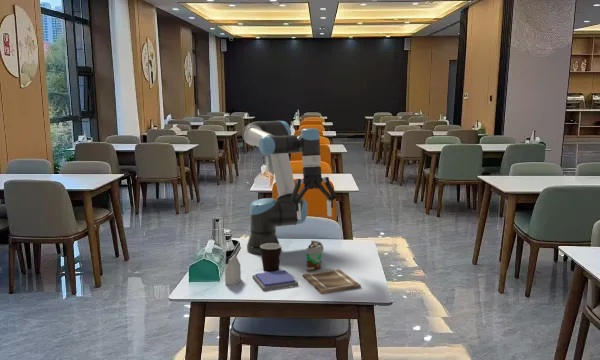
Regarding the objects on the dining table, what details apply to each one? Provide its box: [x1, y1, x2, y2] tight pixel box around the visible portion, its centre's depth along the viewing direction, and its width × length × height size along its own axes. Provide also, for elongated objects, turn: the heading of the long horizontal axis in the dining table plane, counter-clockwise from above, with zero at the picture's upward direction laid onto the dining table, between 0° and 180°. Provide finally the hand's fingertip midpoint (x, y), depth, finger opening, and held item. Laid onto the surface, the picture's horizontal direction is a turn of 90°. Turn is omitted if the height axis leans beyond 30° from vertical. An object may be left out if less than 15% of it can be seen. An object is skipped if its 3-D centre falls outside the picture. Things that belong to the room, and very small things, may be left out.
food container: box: [305, 240, 324, 272], centre depth 218 cm, size 12×6×10 cm, turn 168°
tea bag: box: [224, 254, 242, 286], centre depth 202 cm, size 4×7×10 cm, turn 166°
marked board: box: [302, 268, 362, 295], centre depth 202 cm, size 19×16×1 cm
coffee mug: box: [260, 243, 282, 273], centre depth 217 cm, size 12×9×10 cm
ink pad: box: [252, 269, 299, 292], centre depth 203 cm, size 14×14×2 cm
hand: (314, 217), depth 217 cm, fingers open, 13 cm apart
